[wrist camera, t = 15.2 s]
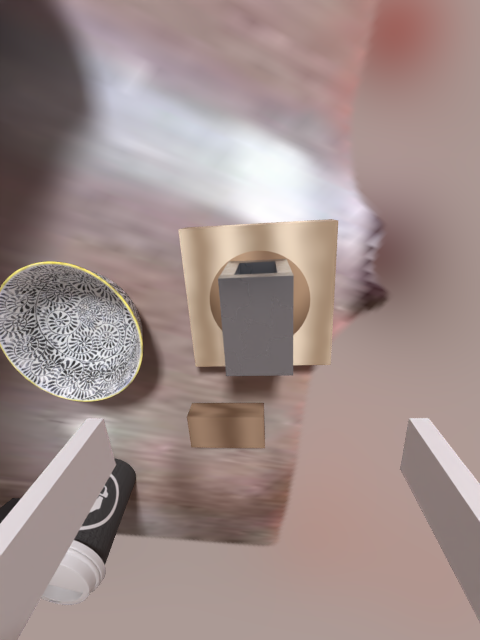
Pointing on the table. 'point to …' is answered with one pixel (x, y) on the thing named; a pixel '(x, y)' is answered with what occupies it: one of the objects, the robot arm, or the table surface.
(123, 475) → the coffee cup
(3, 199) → the table surface
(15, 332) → the bowl
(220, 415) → the stand
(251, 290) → the housing
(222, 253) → the plate
